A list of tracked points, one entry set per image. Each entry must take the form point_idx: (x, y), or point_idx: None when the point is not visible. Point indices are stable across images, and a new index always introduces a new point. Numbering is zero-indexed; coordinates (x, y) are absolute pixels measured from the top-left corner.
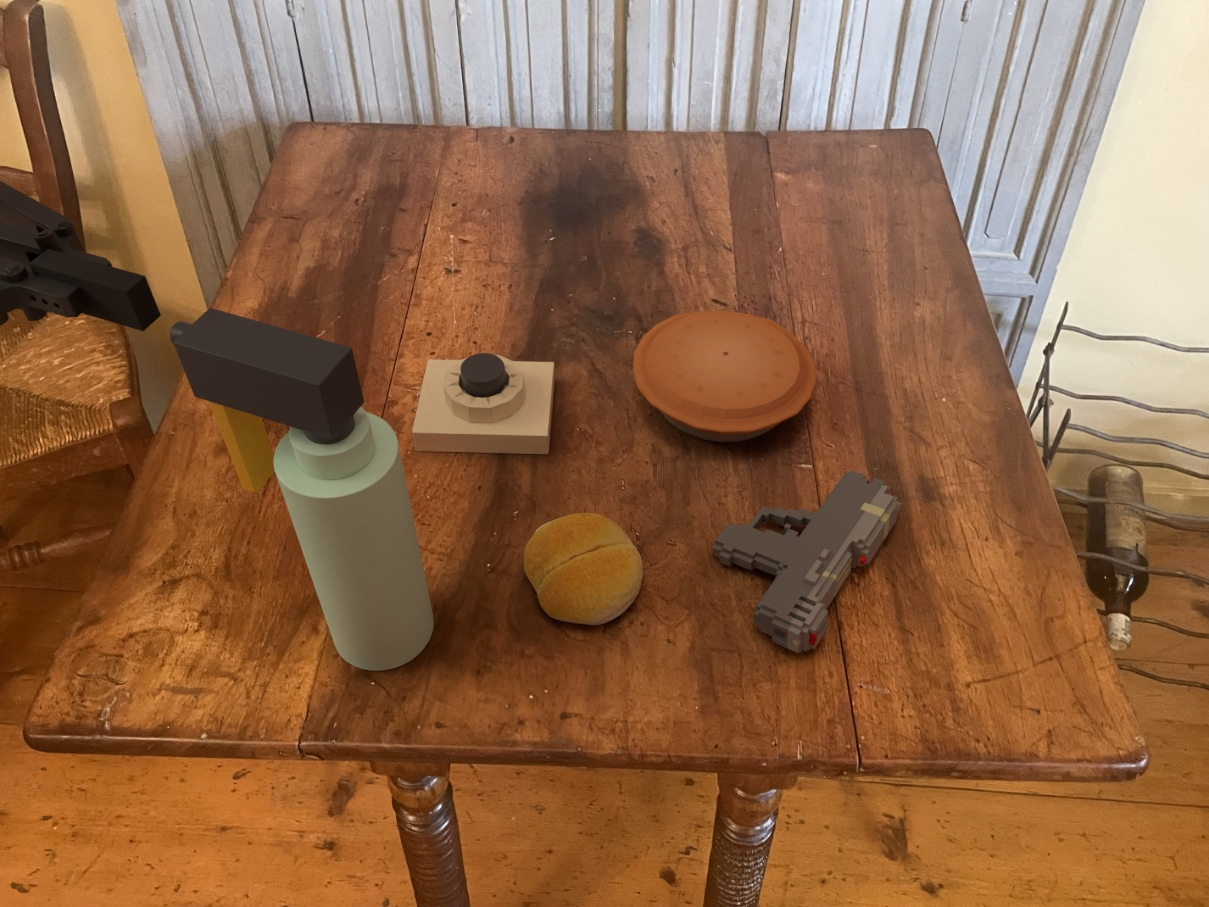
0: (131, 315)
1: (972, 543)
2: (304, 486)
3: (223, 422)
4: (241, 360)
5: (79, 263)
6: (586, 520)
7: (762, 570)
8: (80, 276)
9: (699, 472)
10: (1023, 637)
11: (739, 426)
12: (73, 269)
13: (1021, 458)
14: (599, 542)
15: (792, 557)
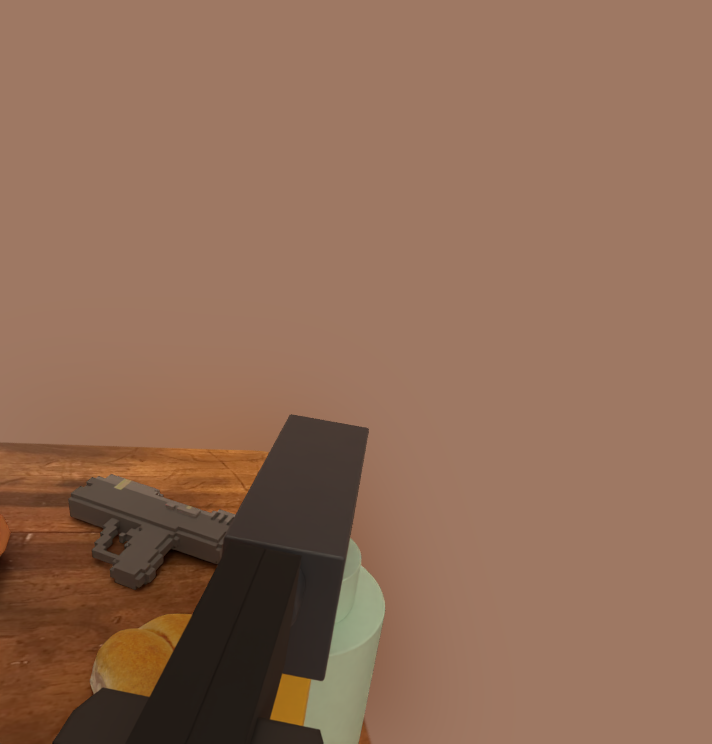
0: (287, 637)
1: (131, 474)
2: (371, 609)
3: (306, 706)
4: (355, 481)
5: (178, 703)
6: (127, 639)
7: (164, 554)
8: (257, 669)
9: (17, 602)
10: (209, 468)
11: (3, 537)
12: (220, 705)
13: (51, 447)
14: (153, 633)
15: (169, 523)
